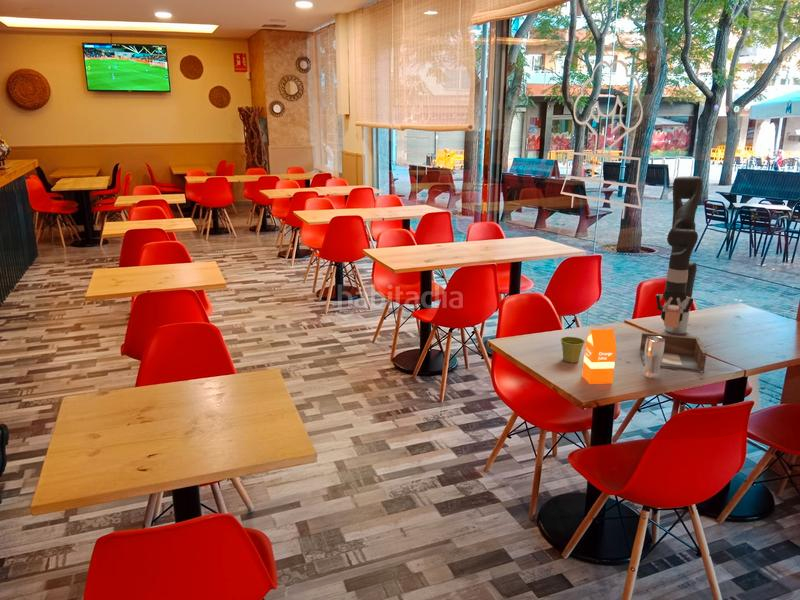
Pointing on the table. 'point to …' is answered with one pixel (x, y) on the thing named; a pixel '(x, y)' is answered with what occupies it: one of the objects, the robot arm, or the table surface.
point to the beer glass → (653, 356)
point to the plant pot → (571, 348)
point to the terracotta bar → (672, 316)
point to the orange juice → (599, 356)
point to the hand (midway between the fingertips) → (671, 320)
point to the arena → (679, 352)
